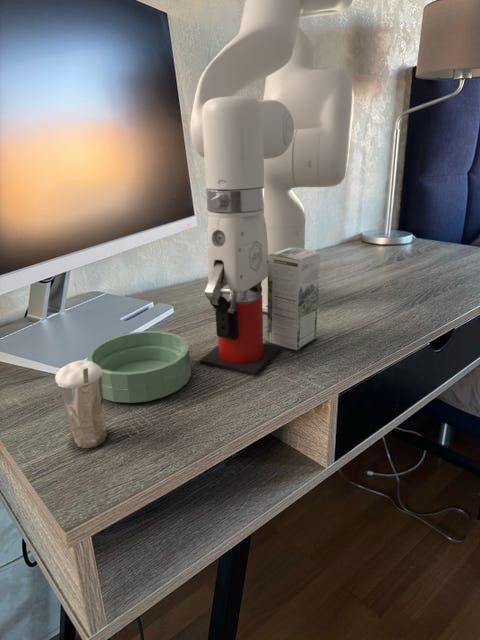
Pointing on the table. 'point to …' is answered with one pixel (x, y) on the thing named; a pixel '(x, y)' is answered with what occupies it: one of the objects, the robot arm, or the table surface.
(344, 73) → the robot arm
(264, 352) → the coaster
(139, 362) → the dish
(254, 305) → the can
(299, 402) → the table surface
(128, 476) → the table surface
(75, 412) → the milkshake
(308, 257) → the syrup box
